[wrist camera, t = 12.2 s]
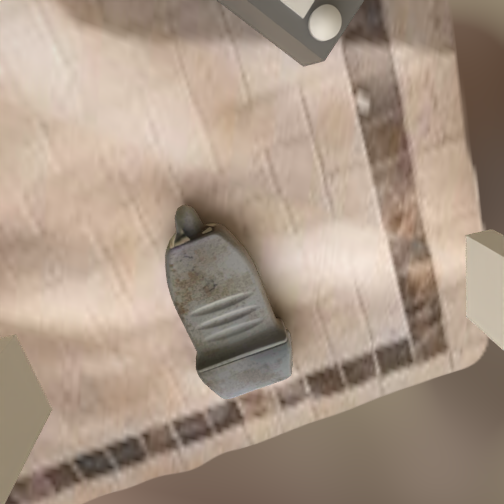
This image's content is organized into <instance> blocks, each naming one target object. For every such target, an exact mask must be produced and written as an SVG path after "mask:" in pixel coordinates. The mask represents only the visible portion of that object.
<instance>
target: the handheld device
mask: <svg viewBox="0 0 504 504" xmlns="http://www.w3.org/2000/svg"><path fill="white" fill-rule="evenodd" d="M175 224H176V233H175V235H174V236H173V237H172V238H171V240H170V241H169V244H168V247H167V250H166V255H165V263H166V277H167V283H168V288H169V291H170V295H171V298H172V300H173V303H174V306H175V308H176V310H177V312H178V314H179V316H180V318H181V320H182V322H183V324H184V326H185V328H186V331H187V333H188V334H189V336H190V338H191V340H192V342H193V344H194V347H195V349H196V351H197V355H196V370H197V373H198V375H199V377H200V378H201V380H202V381H203V382H204V383H205V384H206V385H207V386H208V387H209V388H210V389H211V390H213V391H214V392H215V393H216V394H217V395H219V396H220V397H222V398H223V399H230V398H234V397H237V396H240V395H242V394H245V393H248V392H250V391H253V390H256V389H259V388H262V387H265V386H268V385H271V384H274V383H276V382H279V381H282V380H285V379H287V378H288V377H290V376H291V374H292V366H293V362H292V347H291V336H290V333H289V331H288V330H287V329H286V328H285V325H284V323H283V320H282V319H281V318H276V317H275V315H274V313H273V310H272V308H271V305H270V303H269V300H268V297H267V295H266V292H265V290H264V287H263V285H262V282H261V279H260V277H259V274H258V272H257V270H256V267H255V265H254V263H253V261H252V259H251V257H250V256H249V254H248V252H247V251H246V249H245V248H244V247H243V245H242V244H241V243H240V242H239V241H238V240H237V238H236V237H235V236H234V235H233V234H232V233H231V232H230V231H229V230H228V229H227V228H225V227H224V226H223V225H221V224H218V223H209V224H205V225H204V224H203V223H202V221H201V220H200V217H199V216H198V214H197V212H196V211H195V210H194V209H193V207H190V206H187V205H182V206H181V207H179V208H178V209H177V211H176V215H175Z"/></svg>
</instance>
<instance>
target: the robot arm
mask: <svg viewBox="0 0 504 504" xmlns="http://www.w3.org/2000/svg"><path fill="white" fill-rule="evenodd" d="M466 317H467V318H468V319H469V320H470V321H471V322H472V323H474V324H475V325H476V326H477V327H478V328H479V329H480V330H481V331H483V332H484V333H485V334H486V335H487V336H488V337H489V338H490V339H491V340H493V341H494V342H495V343H496V344H497V345H498V346H499V347H500V348H501V349H503V350H504V235H502V234H500V233H498V232H496V231H494V230H487V231H482V232H478V233H473V234H469V235H466ZM51 411H52V407H51V405H50V403H49V401H48V399H47V397H46V395H45V393H44V391H43V389H42V387H41V385H40V383H39V381H38V379H37V377H36V375H35V373H34V371H33V369H32V367H31V365H30V363H29V360H28V358H27V356H26V354H25V352H24V350H23V348H22V346H21V344H20V342H19V340H18V338H17V336H16V335H12V336H7V337H2V338H0V504H5V502H6V500H7V498H8V496H9V494H10V492H11V490H12V488H13V486H14V484H15V482H16V480H17V478H18V476H19V474H20V472H21V470H22V468H23V466H24V464H25V462H26V460H27V458H28V456H29V454H30V452H31V450H32V448H33V446H34V444H35V442H36V440H37V438H38V436H39V435H40V433H41V431H42V429H43V427H44V425H45V423H46V421H47V419H48V417H49V415H50V413H51Z"/></svg>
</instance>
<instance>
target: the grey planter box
mask: <svg viewBox="0 0 504 504" xmlns="http://www.w3.org/2000/svg"><path fill="white" fill-rule="evenodd" d="M217 1H218V2H220V3H221V4H222V5H224V6H225V7H226V8H228V9H229V10H230V11H232V12H233V13H234V14H235V15H237V16H238V17H239V18H241V19H242V20H243V21H245V22H246V23H247V24H249V25H250V26H251V27H252V28H254V29H255V30H256V31H258V32H259V33H260V34H262V35H263V36H264V37H266V38H267V39H268V40H269V41H271V42H272V43H273V44H275V45H276V46H277V47H279V48H280V49H281V50H283V51H284V52H285V53H286V54H288V55H289V56H290V57H292V58H293V59H294V60H296V61H297V62H298V63H300V64H301V65H302V66H307V65H311V64H315V63H319V62H323V61H325V59H326V58H327V56H328V55H329V53H330V52H331V50H332V49H333V47H334V46H335V44H336V43H337V41H338V40H339V38H340V36H341V35H342V33H343V32H344V30H345V29H346V27H347V26H348V24H349V23H350V21H351V20H352V18H353V17H354V15H355V14H356V12H357V10H358V9H359V7H360V6H361V4H362V3H363V1H364V0H217Z"/></svg>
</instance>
